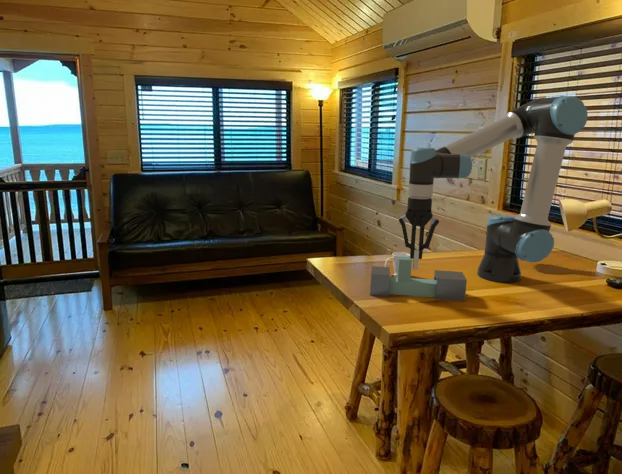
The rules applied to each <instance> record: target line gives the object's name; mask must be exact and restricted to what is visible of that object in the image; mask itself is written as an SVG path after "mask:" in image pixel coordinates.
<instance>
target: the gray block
mask: <svg viewBox="0 0 622 474" xmlns="http://www.w3.org/2000/svg"><path fill="white" fill-rule="evenodd" d="M433 275H434V276H433V280H437V284H436V296H435V297H434V298H435V300H437V301H451V302H463V303H464V302H465V300H466V294H467V293H466V292H467V291H466V290H467V284H468V283H467V281H468V280H467V278H466V276H465V274H464V272H463V271H453V270H452V271H451V270H437V269H436V270H434V274H433Z"/></svg>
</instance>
